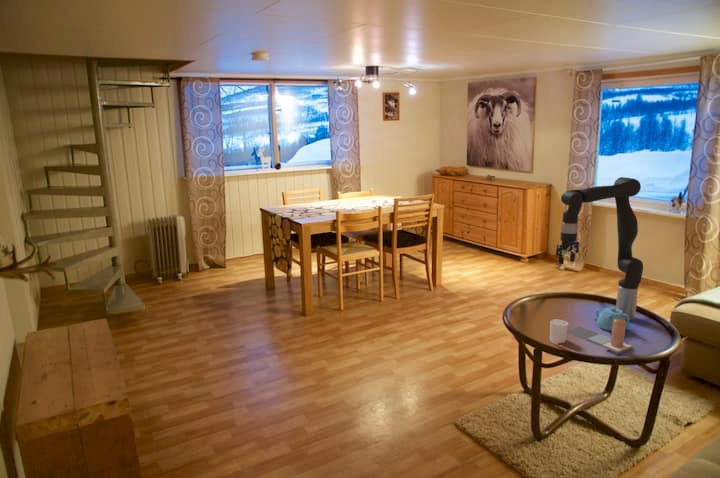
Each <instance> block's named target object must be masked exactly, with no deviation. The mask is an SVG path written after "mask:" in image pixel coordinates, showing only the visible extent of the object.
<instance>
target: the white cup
mask: <svg viewBox="0 0 720 478" xmlns="http://www.w3.org/2000/svg"><path fill="white" fill-rule="evenodd" d="M549 323H550V325H549V342H550V343H551V342H552V343H551V344H553V343H554V345H556V344H563V343H565V342H566V339H567V335H568V333H567V330H569V322H567V321H566V320H563V319H558V318H555V319H551V320H550V321H549Z"/></svg>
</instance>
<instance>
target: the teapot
mask: <svg viewBox="0 0 720 478" xmlns="http://www.w3.org/2000/svg"><path fill="white" fill-rule="evenodd" d="M599 311H601V312H600V313H599ZM625 316H626V317H627V318H628V319H627V320H626V319H625ZM614 319H623V320H625V321H626V328H625V330H628V329H630V328H631V325H629V322H630V321H631V320H630V317H629V316H628V315H627V314H624V313H623V311H622V310H621V308H617V309H616V306H610V307H605V308H597V309H596V310H595V317H594V319H593V320H594V321H595V322H596V324H597V325H598V327H599V328H600V330H601V329H602V330H605V331H608V332H612V328H613V320H614Z"/></svg>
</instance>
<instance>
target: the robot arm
mask: <svg viewBox="0 0 720 478" xmlns="http://www.w3.org/2000/svg"><path fill="white" fill-rule="evenodd" d="M641 188H642V187H641V183H640V181H639V180H638V179H636V178H631V177H624V176H623V177H617V179H616V180H615V181H614V183H613V184H612V185H601V186H600V185H599V186H592V187H587V188H584V189H583V188H582V189H570V190H566V191H565V192H563V193H562V194H561V197H560V200H561V203H562V204H564V205H566V206H568V208H567V210H564V211H563V213H562V219H561V228H560V237H559V239H560V241H561V243H557V245H556V252H555V256H556V257H558V264H559V265H564V261H565V255H566V254H567V253H568V252H569V253H570V255H569V261H570V262H572V263H573V262H575V261H576V254H577V253H579V251H580V250H579V249H580V247H579V246H580V242H579V241H577V239H578V226H579V225H578V223H579V221H578V220H579V214H580V211H581V208H582V206H583V203H585V204H586V203H587V204H588V203H593V202H598V201H602V200H607V199H612V198H614V200H615V207H616V208H615V209H616V219H617V224H616V225H617V226H616V227H617V240H618V241H617V243H618V245H617V248H618V251H617V268H618V270H619V271H620V272H622V273H624V274H625V276H624V278H622V279H619V281H618V287H617V296H616V303H615V304H616V305H615V308H616V309H617V308H621V310H622V311H623V313H624V314H627V315H628V316H629V317H630V320H629V321H633V320H635V318H636V312H637V303H638V300H637V298H638V291H639V287H640V284H641V282H642V276H643V272H644V264H643V261H642V260H641V259H639V258H636V257H634V256H633V247H632V246H633V245H634V244H633V243H634V241H635V240H636V238H637V237H638V232H639V230H638V229H639V228H638V223H639V222H638V218H637V216H636V214H635V212H634V210H633V208H632V206H631V204H630V197H635V196H637V195H638V194H639V193H640V191H641ZM625 319H626V321H627V319H628V318H627V317H626V316H625Z"/></svg>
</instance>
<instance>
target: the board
mask: <svg viewBox="0 0 720 478" xmlns="http://www.w3.org/2000/svg"><path fill="white" fill-rule="evenodd" d="M567 334H570V335H572V336H574V337H577V338H579V339H581V340H584V341H586V342H589V343H591V344H594V345H597V346H599V347H602V348H603V349H606V352H608V353H610V354H613V355H615V354H616V356H618V354H619V355H622V354H624V353H627V352H629V351H632V350H634V349H633V348H634V347H633V346H632V345H630V344H627V343H625V342H624V344H623V347H621V348H618V347H614V346H612V345H611V337H609V336H606V335H604V334H601V333H598V332H596V331H592V330H590V329H588V328H584V327H582V326H576V327H573V328H568V329H567Z"/></svg>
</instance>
